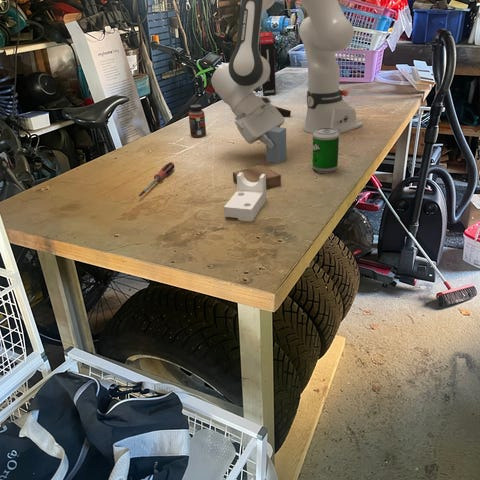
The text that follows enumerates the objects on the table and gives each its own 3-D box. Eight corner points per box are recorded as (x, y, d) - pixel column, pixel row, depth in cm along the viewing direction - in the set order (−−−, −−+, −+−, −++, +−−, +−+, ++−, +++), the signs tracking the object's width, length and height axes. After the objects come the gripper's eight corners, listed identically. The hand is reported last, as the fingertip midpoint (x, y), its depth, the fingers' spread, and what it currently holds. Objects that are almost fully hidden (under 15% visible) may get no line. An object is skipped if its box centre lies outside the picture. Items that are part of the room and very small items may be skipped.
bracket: (241, 198, 129) (239, 172, 125) (266, 200, 127) (265, 174, 123) (224, 219, 118) (222, 191, 115) (252, 222, 116) (250, 194, 113)
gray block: (273, 156, 156) (272, 126, 151) (286, 158, 154) (286, 128, 149) (266, 161, 152) (265, 130, 147) (279, 163, 150) (279, 132, 145)
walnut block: (262, 174, 143) (262, 164, 141) (280, 184, 135) (280, 174, 134) (233, 182, 139) (232, 172, 137) (250, 193, 131) (249, 183, 130)
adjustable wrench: (285, 129, 199) (232, 113, 206) (288, 127, 201) (235, 111, 208) (289, 109, 194) (234, 94, 201) (292, 107, 197) (237, 92, 204)
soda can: (339, 166, 145) (341, 127, 139) (335, 175, 139) (337, 134, 133) (314, 164, 148) (315, 126, 142) (309, 173, 141) (310, 133, 136)
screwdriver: (144, 201, 130) (143, 191, 129) (134, 201, 131) (133, 191, 130) (177, 169, 151) (176, 160, 150) (168, 168, 152) (167, 159, 151)
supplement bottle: (204, 138, 178) (201, 107, 173) (188, 137, 179) (185, 107, 174) (208, 133, 183) (205, 103, 178) (193, 133, 185) (190, 103, 179)
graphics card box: (276, 95, 232) (275, 35, 219) (262, 96, 232) (259, 36, 219) (274, 88, 247) (273, 31, 234) (261, 89, 247) (259, 32, 234)
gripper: (238, 111, 140) (268, 147, 140) (270, 96, 155) (298, 128, 155) (226, 125, 144) (255, 160, 145) (259, 109, 159) (286, 140, 160)
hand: (278, 143), depth 150 cm, fingers closed on gray block, 5 cm apart
